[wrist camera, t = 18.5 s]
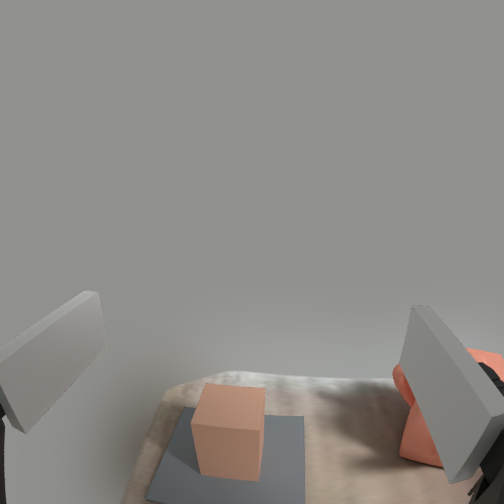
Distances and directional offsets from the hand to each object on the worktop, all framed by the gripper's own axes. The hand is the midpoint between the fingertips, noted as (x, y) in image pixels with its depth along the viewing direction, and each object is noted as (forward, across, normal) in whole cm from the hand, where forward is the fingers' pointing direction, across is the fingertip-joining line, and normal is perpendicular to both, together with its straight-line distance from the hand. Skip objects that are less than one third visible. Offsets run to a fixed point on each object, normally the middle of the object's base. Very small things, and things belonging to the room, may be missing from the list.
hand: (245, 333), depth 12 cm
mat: (+15, -4, -28) cm, 32 cm away
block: (+15, -4, -28) cm, 31 cm away
